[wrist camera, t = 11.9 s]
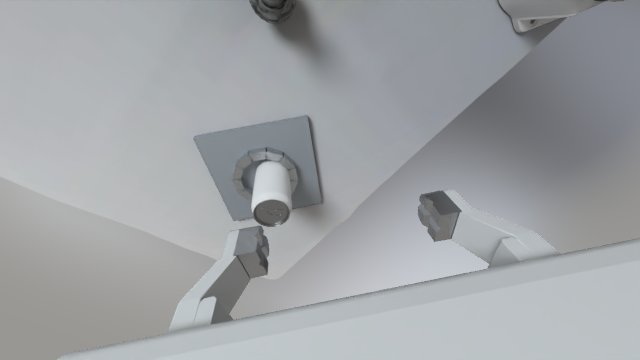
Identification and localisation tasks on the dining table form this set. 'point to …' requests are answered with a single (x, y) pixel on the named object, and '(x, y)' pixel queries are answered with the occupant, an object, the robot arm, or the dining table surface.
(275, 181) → the can
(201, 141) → the board
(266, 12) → the salt shaker
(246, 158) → the collar
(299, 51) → the dining table surface
